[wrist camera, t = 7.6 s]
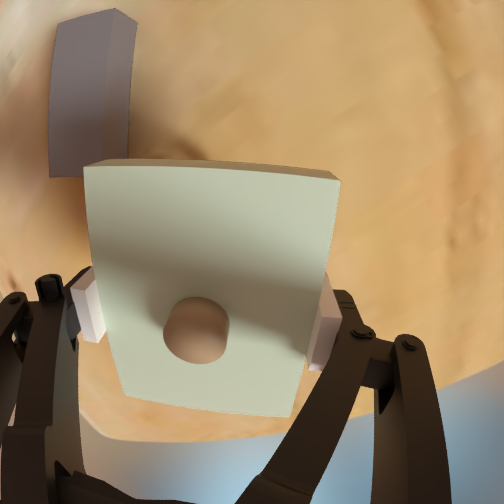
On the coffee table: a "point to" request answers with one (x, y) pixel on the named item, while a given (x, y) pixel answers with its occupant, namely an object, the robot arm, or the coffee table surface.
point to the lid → (209, 277)
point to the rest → (90, 91)
